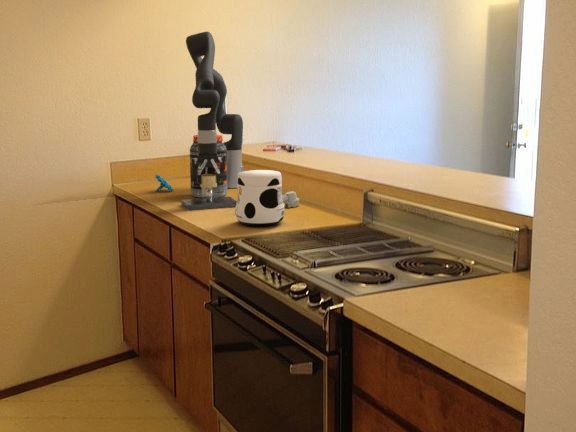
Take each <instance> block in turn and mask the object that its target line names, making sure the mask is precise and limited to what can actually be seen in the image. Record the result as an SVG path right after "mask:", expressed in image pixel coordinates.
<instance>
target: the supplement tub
mask: <svg viewBox="0 0 576 432" xmlns="http://www.w3.org/2000/svg"><path fill="white" fill-rule="evenodd" d="M197 135H198V134H195V135H193V137H192V138H193V139H192V144H191V146H190V147H189V159H190V158H197V157H198V138H197ZM223 141H224V138H223V134H217V155H218V157H222V156H223V157H225V170H224V172H221V173H220V182H219V183H217V187H213V188H203V187H200V184H198V183H197V175H196V174H194V173H192V171H191V163H190V162H189V167H190V168H189V169H190V170H189V171H190V193H191V195H192V196H193V197H196V198H198V199H202V198H206V189H212V198H216V197H226V195H227V194H228V188H227V149H226V146H225V145H224V144H223V143H224V142H223ZM199 165H200V163H199V162H198V160H197V161H196V164H195V168H196V171H197V170H198V167H199ZM216 165H217V167H218V169H220V161H219V159H218V161H217V162H216ZM215 173H216V172H215V170H214V168H213V167H207V168H205V167H204V168H203V170H202V172H201V174H200V175H202V174H215Z"/></svg>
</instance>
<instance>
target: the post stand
mask: <svg viewBox="0 0 576 432" xmlns="http://www.w3.org/2000/svg"><path fill="white" fill-rule="evenodd" d="M180 202H181V203H180V204H181V206H182V207H183V208H184V209H185V210H186V211H196V210H198V211H199V210H210V209H211V210H212V209H213V210H214V209H225V208H236V204H237V200H236V199H234V198H232V197H231V196H222V197H214V198H212V189H206V198H191V199H190V198H188V199H181V200H180Z"/></svg>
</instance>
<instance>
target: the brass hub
mask: <svg viewBox="0 0 576 432" xmlns="http://www.w3.org/2000/svg"><path fill="white" fill-rule="evenodd" d="M200 187H203V188H213V187H217V175H216V174H202V175H201V184H200Z"/></svg>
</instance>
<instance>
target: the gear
mask: <svg viewBox="0 0 576 432" xmlns="http://www.w3.org/2000/svg"><path fill="white" fill-rule="evenodd" d="M155 178H156V180H157V181H158V182H159V183H160V184H159V186H158V188H156V190H155V191H156V192H159V191H162V189H163V188H165V189H167V190H168V191H169V192H173V187H172V186H171V184H170V183H169V182H168V181H167V180H165V179H164V178H163V177H162V176H161V175H158V174H156V175H155Z"/></svg>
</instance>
